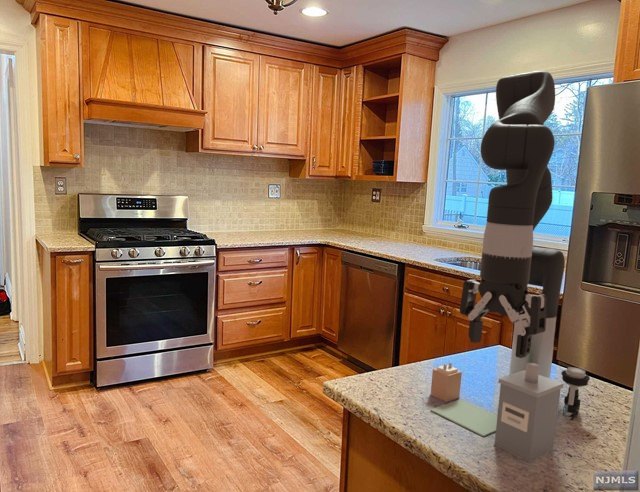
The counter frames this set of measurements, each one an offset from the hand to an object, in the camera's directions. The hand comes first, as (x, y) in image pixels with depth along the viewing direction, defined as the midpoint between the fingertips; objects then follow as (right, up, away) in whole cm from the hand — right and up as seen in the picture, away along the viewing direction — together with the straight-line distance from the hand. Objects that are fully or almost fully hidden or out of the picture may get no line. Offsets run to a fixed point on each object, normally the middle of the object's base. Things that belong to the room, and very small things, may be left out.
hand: (497, 349), depth 86 cm
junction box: (+8, -20, +10) cm, 24 cm away
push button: (+24, -19, +25) cm, 39 cm away
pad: (+2, -18, +21) cm, 28 cm away
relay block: (-1, -17, +32) cm, 36 cm away
